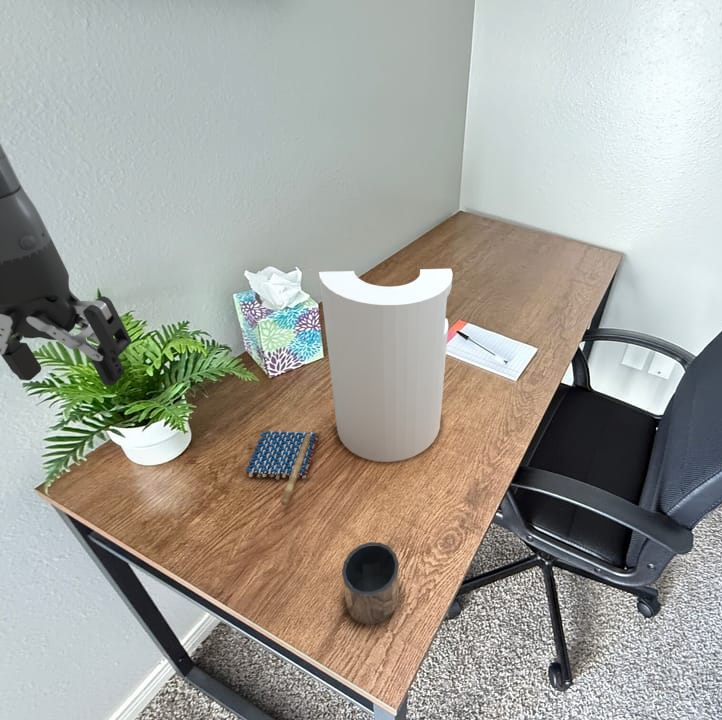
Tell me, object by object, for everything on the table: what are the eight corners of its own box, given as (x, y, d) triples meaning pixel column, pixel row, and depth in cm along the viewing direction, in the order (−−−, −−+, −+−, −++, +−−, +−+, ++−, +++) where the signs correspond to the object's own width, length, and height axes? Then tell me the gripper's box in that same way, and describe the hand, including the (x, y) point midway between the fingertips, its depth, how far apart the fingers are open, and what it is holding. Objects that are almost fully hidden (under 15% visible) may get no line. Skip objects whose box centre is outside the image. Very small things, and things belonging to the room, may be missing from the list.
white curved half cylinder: (336, 424, 94) (438, 413, 100) (338, 469, 85) (449, 453, 91) (318, 269, 72) (450, 266, 78) (319, 308, 64) (466, 301, 70)
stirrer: (305, 433, 88) (269, 456, 75) (311, 432, 88) (276, 455, 75) (314, 476, 89) (280, 506, 76) (320, 476, 89) (287, 505, 76)
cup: (395, 625, 66) (394, 596, 60) (341, 624, 65) (336, 594, 60) (400, 574, 72) (401, 543, 66) (352, 572, 71) (348, 541, 65)
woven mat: (307, 481, 83) (306, 474, 81) (245, 479, 82) (243, 472, 80) (320, 437, 91) (319, 430, 90) (264, 435, 90) (262, 427, 88)
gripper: (105, 231, 45) (158, 361, 55) (-55, 217, 44) (29, 352, 54) (51, 268, 39) (121, 406, 49) (-137, 252, 38) (-25, 397, 48)
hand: (73, 378), depth 51 cm, fingers open, 8 cm apart
